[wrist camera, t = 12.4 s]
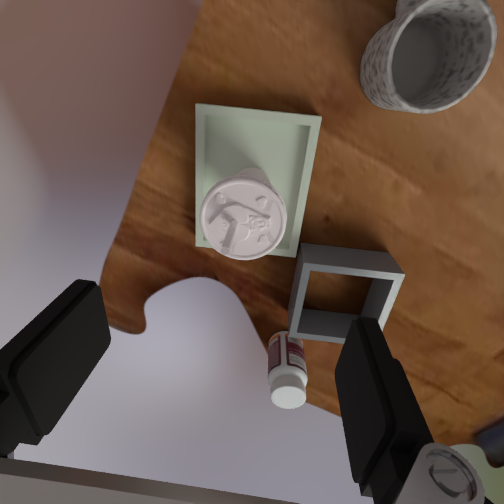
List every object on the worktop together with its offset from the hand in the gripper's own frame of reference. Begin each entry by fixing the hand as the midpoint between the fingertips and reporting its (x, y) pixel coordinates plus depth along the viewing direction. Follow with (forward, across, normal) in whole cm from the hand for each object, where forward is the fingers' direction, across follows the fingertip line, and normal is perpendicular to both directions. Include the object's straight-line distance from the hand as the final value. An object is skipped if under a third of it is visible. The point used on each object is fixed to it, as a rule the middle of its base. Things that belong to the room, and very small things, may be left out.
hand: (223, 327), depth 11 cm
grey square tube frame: (+22, -10, +12) cm, 27 cm away
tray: (+22, +1, +1) cm, 22 cm away
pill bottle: (+22, -6, +22) cm, 32 cm away
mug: (+22, -10, -12) cm, 27 cm away
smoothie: (+21, +1, +1) cm, 21 cm away
